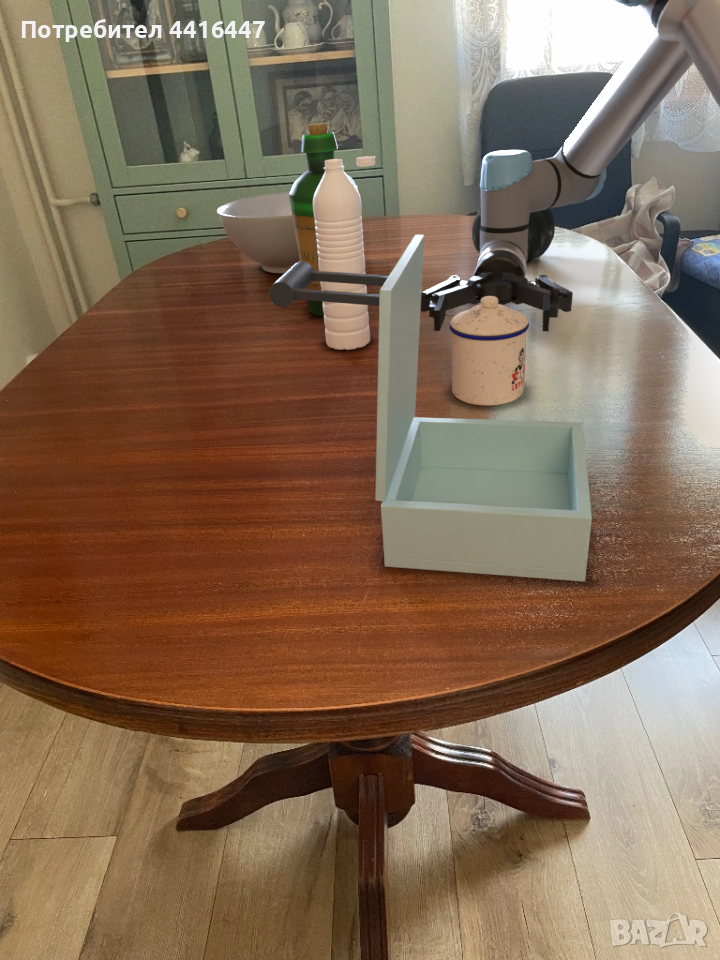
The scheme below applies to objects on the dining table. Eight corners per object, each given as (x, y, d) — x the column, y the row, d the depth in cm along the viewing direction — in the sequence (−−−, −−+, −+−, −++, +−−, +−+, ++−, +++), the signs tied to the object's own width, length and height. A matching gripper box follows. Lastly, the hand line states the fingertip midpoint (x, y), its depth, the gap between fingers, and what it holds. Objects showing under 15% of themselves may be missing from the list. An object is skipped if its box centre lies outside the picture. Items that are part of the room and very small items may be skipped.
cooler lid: (424, 234, 61) (307, 228, 63) (391, 290, 48) (243, 280, 50) (415, 413, 70) (312, 402, 72) (385, 502, 57) (260, 486, 59)
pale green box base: (577, 477, 70) (582, 421, 67) (585, 581, 57) (592, 518, 54) (413, 470, 74) (411, 416, 71) (384, 566, 60) (380, 506, 57)
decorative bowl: (201, 270, 150) (190, 209, 144) (303, 243, 164) (297, 186, 158) (279, 292, 132) (270, 223, 126) (385, 259, 147) (382, 196, 141)
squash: (491, 218, 147) (478, 167, 134) (565, 223, 141) (560, 170, 128) (472, 279, 144) (457, 233, 131) (547, 287, 138) (539, 239, 125)
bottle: (299, 305, 125) (278, 124, 110) (360, 297, 126) (347, 118, 112) (306, 324, 115) (284, 130, 101) (371, 315, 117) (359, 123, 102)
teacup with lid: (529, 406, 84) (534, 308, 78) (450, 408, 85) (449, 312, 79) (519, 367, 94) (523, 277, 88) (449, 369, 95) (448, 281, 90)
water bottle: (322, 350, 105) (303, 163, 92) (331, 335, 110) (314, 156, 97) (381, 350, 103) (371, 160, 90) (388, 334, 109) (378, 153, 96)
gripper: (584, 298, 108) (591, 350, 91) (418, 299, 114) (394, 348, 96) (588, 247, 105) (596, 290, 87) (416, 250, 110) (391, 292, 92)
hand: (490, 321), depth 91 cm, fingers open, 13 cm apart
